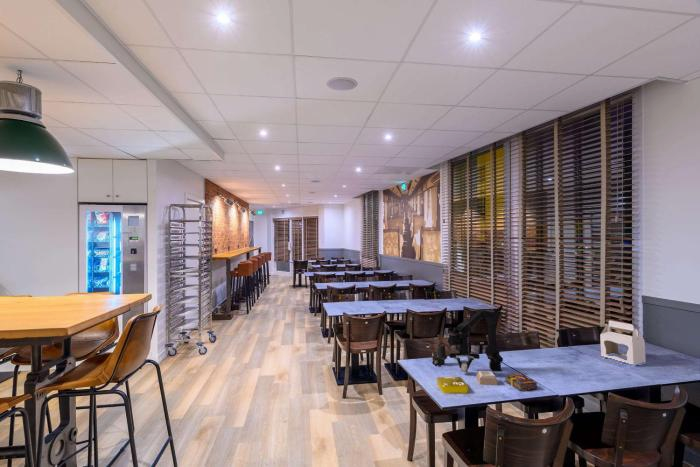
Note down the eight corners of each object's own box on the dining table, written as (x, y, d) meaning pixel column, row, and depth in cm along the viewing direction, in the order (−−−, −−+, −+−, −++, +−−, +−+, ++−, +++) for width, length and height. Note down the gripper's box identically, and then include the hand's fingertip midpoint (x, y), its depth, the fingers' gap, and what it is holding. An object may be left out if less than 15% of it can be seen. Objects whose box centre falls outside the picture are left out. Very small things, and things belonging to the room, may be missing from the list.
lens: (467, 369, 222) (466, 360, 222) (468, 372, 217) (468, 362, 218) (459, 369, 223) (459, 360, 223) (461, 371, 218) (460, 362, 218)
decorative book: (520, 380, 210) (520, 372, 210) (539, 391, 194) (538, 382, 194) (504, 381, 208) (503, 373, 208) (521, 392, 192) (521, 383, 192)
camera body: (493, 380, 210) (493, 371, 210) (497, 385, 202) (497, 375, 202) (476, 379, 211) (476, 370, 212) (480, 384, 203) (480, 375, 204)
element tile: (460, 383, 206) (460, 375, 206) (469, 394, 191) (469, 385, 191) (436, 383, 206) (436, 375, 206) (442, 394, 191) (442, 385, 191)
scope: (431, 343, 244) (444, 343, 245) (431, 363, 243) (445, 362, 244) (434, 346, 236) (448, 346, 236) (435, 366, 235) (449, 366, 236)
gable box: (646, 364, 236) (644, 324, 238) (634, 367, 232) (632, 326, 233) (612, 355, 257) (610, 318, 259) (600, 357, 253) (598, 320, 254)
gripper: (475, 341, 228) (475, 364, 227) (446, 340, 230) (447, 363, 229) (479, 345, 217) (480, 370, 216) (449, 345, 219) (450, 369, 218)
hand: (464, 368), depth 220 cm, fingers closed on lens, 5 cm apart
